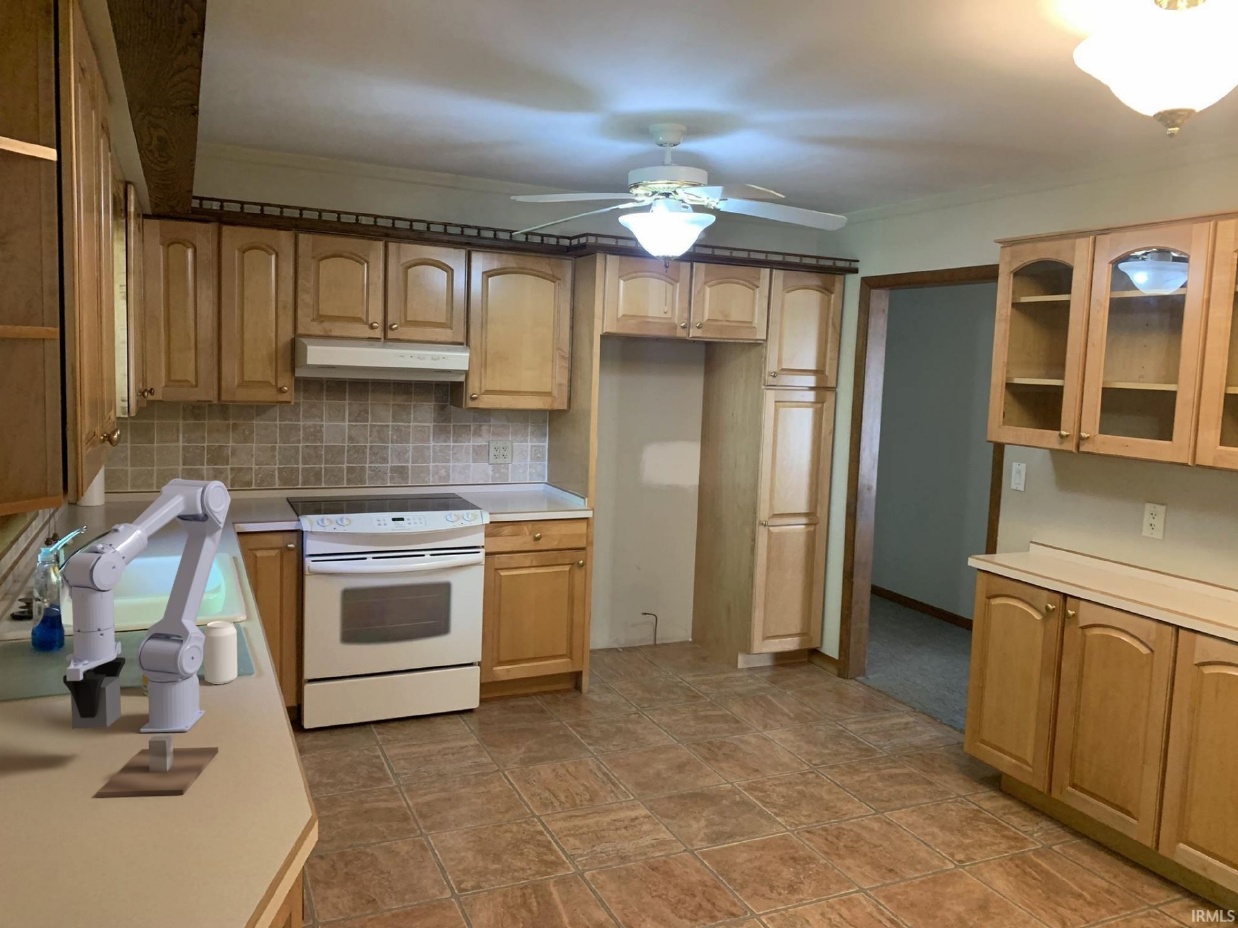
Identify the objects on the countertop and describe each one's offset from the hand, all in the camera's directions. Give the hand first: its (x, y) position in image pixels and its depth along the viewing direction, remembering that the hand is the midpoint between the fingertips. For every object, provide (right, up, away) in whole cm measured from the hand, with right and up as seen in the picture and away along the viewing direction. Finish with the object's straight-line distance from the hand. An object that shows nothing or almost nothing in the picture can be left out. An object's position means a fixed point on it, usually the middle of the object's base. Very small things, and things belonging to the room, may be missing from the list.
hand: (96, 710), depth 147 cm
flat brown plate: (+12, -9, -4) cm, 16 cm away
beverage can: (+3, -5, +40) cm, 40 cm away
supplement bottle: (-7, -5, +33) cm, 34 cm away
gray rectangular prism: (0, -2, 0) cm, 2 cm away
